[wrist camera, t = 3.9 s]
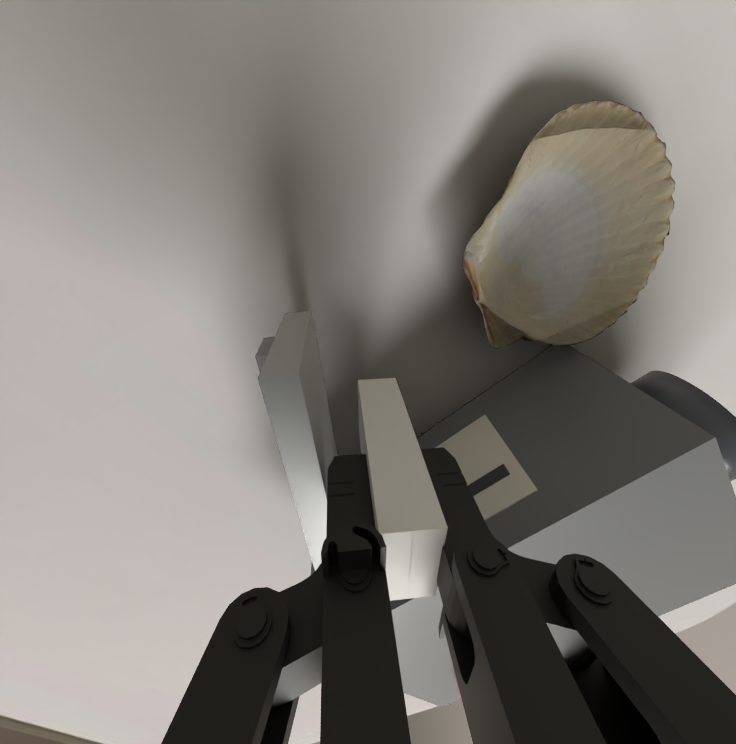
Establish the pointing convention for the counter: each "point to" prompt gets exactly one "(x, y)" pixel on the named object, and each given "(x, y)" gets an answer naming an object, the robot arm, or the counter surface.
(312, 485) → the side door
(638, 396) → the camera body
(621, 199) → the seashell
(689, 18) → the counter surface
